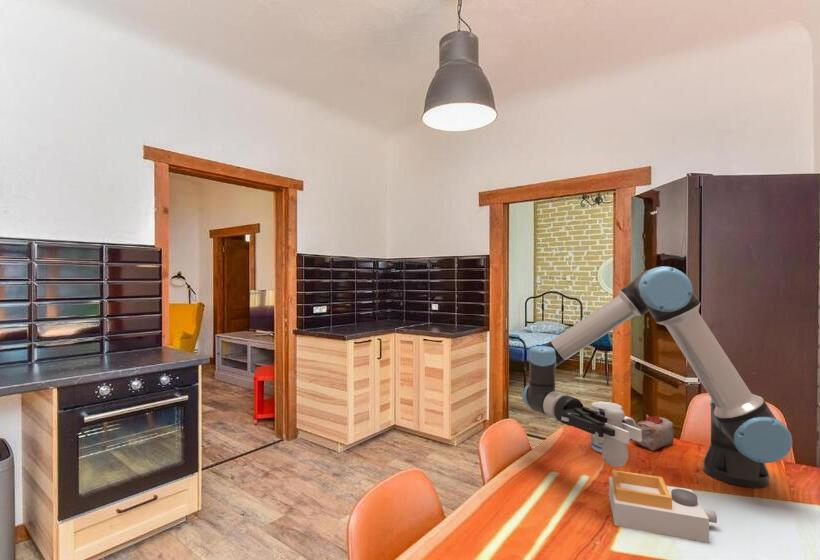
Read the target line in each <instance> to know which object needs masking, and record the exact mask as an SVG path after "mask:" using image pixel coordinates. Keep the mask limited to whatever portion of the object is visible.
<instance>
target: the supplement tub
mask: <svg viewBox="0 0 820 560" xmlns="http://www.w3.org/2000/svg"><path fill="white" fill-rule="evenodd" d="M607 408H618V409H621V410H623V406H622V405H620V404H619V403H614V402H610V401H593V402H592V403H591V407H590V409H591V410H594V411H597V410H598V409H603V410H604V411H605V410H606V409H607ZM604 436H605V434H604V433H603V437H598V433H597V432H595V434H591V433H590V446H591V448H592V450H593V451H595V452H598V453H600V454H602V447H603V441H604Z"/></svg>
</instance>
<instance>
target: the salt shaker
mask: <svg viewBox="0 0 820 560" xmlns="http://www.w3.org/2000/svg"><path fill="white" fill-rule="evenodd" d="M625 416H626V415H625V412H624V410H623V409H622V410H621V409H618V408H607V409H606V410H605V417H606V418H607V419H608V420H607V423H608V424H610V425H614V426H616V427H619V428H621V429H623V426H622V420H624V418H625ZM627 445H628V444H625V443H623V442H621V441H618V440H616V439H614V438H611V437H609V436H607V435H605V436H604V441H603V447H602V453H601V455H602V458H603V460H604V463H606V465H608V466H611V467H615V468H621V467H625V465H626V463H627V461H628V459H629V455H630V454H629V452H628V451H629V450H628V446H627Z"/></svg>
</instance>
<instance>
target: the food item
mask: <svg viewBox="0 0 820 560" xmlns="http://www.w3.org/2000/svg"><path fill="white" fill-rule="evenodd" d="M645 416H646V417H645V420H641V421H638V422H637V423H636V426H635V428H638V429H641V430H642V442H638V441H635V440H633V441H634V443H636V444H637V445H638V446H640V447H642V448H645V449H646V450H649V451H653V452H654V451H656V450H659V449H661V448H663V447H666V446H669V445H673V444H674V443H675V441H674V437H675V436H674V435H675V434H674V423H673V422H672V421H671V420H670V419H667V418H665V417H660V416H650V415H649V414H646V415H645Z"/></svg>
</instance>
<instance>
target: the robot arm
mask: <svg viewBox="0 0 820 560" xmlns="http://www.w3.org/2000/svg"><path fill="white" fill-rule="evenodd" d="M700 306H701V302H700V300H699V298H697V296H696V294H695V292H694V289H693V284H692V282H691V279H690V278H689V277H688V276H687V274H686V273H684V272H683V271H681V270H679V269H677V268H675V267H671V266H663V265H662V266H656V267H654V268H650V269H647V270H644V271H642V272H641V273H640V274H638V276H636V277H635V278H634V279H633V280H632V281H631V282H629V284H627V285H626V286H625V287H623V288H622V289H620V290H619V291H618V295H617V296H616V297H614V298H613V299H611V300H609V301H608V302H607V303H605V304H603V305H602V306H601V307H599V308H598V309H596V310H595V311H593V312H592V313H590V314H588V315H587V316H586V317H584V318H583V319H581V320H580V321H578V322H577V323H575V324H573V326H571V327H569V328H568V329H566V330H565V331H563V332H562V333H561V334H559V335H557V336H556V337H554V338H553V339H551V340H550V341H549V342H547V343H545V344H543V345H535V346H531V347H530V349H529V355H528V365H529V366H528V369H529V376H528V377H529V379H528V380H529V381H528V382H529V383H528V384H527V385H526V386H524V388H523V390H522V394H521V397H522V398H521V400H522V402H523V404H524V405H525V406H526V407H527V408H529V409H531V410H533V412H536V413H540V414H542V415H545V416H547V417H549V418H551V419H554V420H555V422H560V423H561V424H562V425H566V426H570V427H573V428H576V429H578V430H581V431H584V432H586V433H589V434H590V435H591V434H595V432H597V433H598V437H603V433H604V434H605V435H607V436H609V437H611V438H614V439H616V440H618V441H621V442H623V443H625V444H626V445H629V444H630V440H633V441H634V440H635V441H638V442H642V430H641V429H638V428H635V427H633V426H630V425H628V424H625V419H624V420H622V426H623V429H621V428H619V427H616V426H614V425H610V424H608V423H607V420H608V419H607V418H606V417H605V411H604V410H603V409H598V410H597V411H594V410H591V408H589V407H587V406H584V405H583V403H582V400H580V399H578V398H577V397H576V398H575V397H573V396H572V395H571V396H569V395H568V394H565V393H563V392H559V391H556V367H558V366H559V365H561V364H562V363H564V362H565V361H567V360H568V359H570V358H572V357H573V356H574V355H576V354H577V353H578V352H580V351H583V350H584V349H586V347H588V346H590V345H591V344H593V343H595V342H596V341H598V340H599V339H601V338H602V337H604V336H605V335H607V334H609V333H610V332H612V331H613V330H615V329H617V328H618V327H619V326H621V325H623V324H625V322H627V321H629V320H631V319H632V318H633V317H642V316H643V315H645V314H646V313H648V312H649V313H650V315H651V317H652V318H653V320H654V321H655V322H656V324H658V325H661V326H662V325H663V326H664V327H665V328H666V329H667V330H668V332H669V334H670V336H671V337H672V338H673V341H674V342H675V343H676V345H677V346H678V348H679V350H680V351H681V353H682V355H683V356H684V358H685V359H686V361H687V362H688V364H689V366H690V367H691V369H692V370H693V372H694V373H695V375H696V377H697V378H698V380H699V382H700V383H701V384H702V386H703V387H704V389H705V391H706V393H707V394H708V396H709V397H710V399H711V401H710V403H709V405H710V444H709V446H708V449H707V451H706V453H705V456H704V458H703V462H702V469H703V470H702V471H704V473H706V474H707V475H709V476H711V478H714V479H717V480H719V481H721V482H724V483H728V484H731V485H735V486H740V487H746V488H765V486H766V487H768V486H769V485H770V474H769V470H768V467H767V465H766V464H769V463H770V464H771V463H776V462H779V461H781V460H783V459H784V458H785V457H786V456H788V455H789V453H790V451H791V449H792V447H793V436H792V434H791V432H790V430H789V429H788V427H786V425H785V424H784V423H783V422H782V421H780V420H779V419H778V418H777V417H776V416H775V415H774V414H773V412H772V411H771V408H770V407H769V405H767V403H766V400H764V398H763V397H762V396H759V395H757V394H754V393H752V392H751V391H750V389H749V388H748V386H747V384H746V383H745V381H744V380H743V378H742V377H741V375H740V374H739V372H738V371H737V369H736V367H735V366H734V365H733V363H732V362H731V359H730V358H729V357H728V355H727V353H726V352H725V351H724V349H723V348H722V345H721V344H720V343H719V342H718V340H717V339H716V337H715V335H714V334H713V332H712V331H711V329H710V327H709V326H708V325H707V323H706V322H705V320H704V317H702V315H701V314H700V313H699V311H700V308H701V307H700ZM629 438H630V440H629ZM635 441H634V442H635ZM767 485H768V486H767Z"/></svg>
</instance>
